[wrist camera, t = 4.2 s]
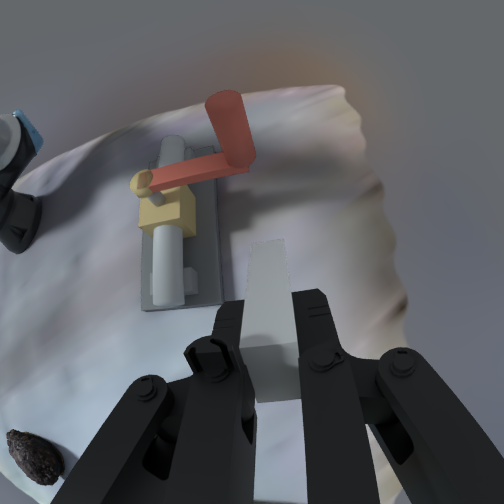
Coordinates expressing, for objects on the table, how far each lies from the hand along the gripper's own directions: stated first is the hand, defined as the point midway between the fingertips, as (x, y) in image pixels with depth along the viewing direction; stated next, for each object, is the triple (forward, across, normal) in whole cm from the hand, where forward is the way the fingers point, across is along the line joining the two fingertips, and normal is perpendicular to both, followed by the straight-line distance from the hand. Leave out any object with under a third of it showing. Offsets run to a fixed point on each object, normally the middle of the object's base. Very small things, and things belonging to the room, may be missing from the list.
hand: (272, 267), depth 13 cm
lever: (+19, -8, +3) cm, 21 cm away
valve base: (+27, -14, -5) cm, 31 cm away
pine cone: (-4, -53, -37) cm, 64 cm away
